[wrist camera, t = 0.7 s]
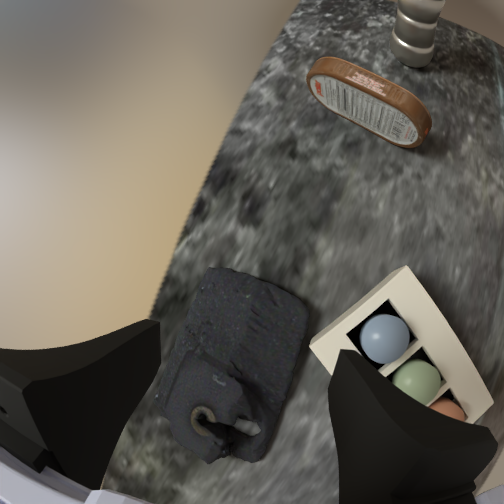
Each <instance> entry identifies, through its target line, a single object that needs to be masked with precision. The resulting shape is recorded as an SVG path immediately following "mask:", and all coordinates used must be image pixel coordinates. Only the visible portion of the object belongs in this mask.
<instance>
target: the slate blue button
mask: <svg viewBox="0 0 504 504" xmlns="http://www.w3.org/2000/svg"><path fill="white" fill-rule="evenodd" d="M359 340H360V344H361V347H362V348H363V350H364V351H365V353H366V354H367V355H368V357H369V358H370V359H371V360H373V361H375V362H377V363H382V364H387V363H391V362H394V361H396V360H397V359H399V358H400V357H401V356H402V355H403V354H404V353H405V351H406V349H407V347H408V344H409V331H408V328H407V326H406V324H405V323H404V322H403V321H402V320H401V319H400V318H398V317H395V316H392V315H388V314H376V315H374V316H372V317H370V318H369V319H367V320H366V321H365V323H364V324H363V326H362V328H361V330H360V335H359Z"/></svg>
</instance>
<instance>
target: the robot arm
mask: <svg viewBox="0 0 504 504" xmlns="http://www.w3.org/2000/svg"><path fill="white" fill-rule="evenodd" d="M160 364H161V347H160V322H158V321H153V320H149V319H145V320H142V321H139V322H136V323H134V324H131V325H129V326H126V327H124V328H121V329H119V330H116V331H114V332H111V333H109V334H107V335H103V336H100V337H98V338H95V339H92V340H89V341H85V342H82V343H78V344H73V345H69V346H64V347H57V348H49V349H39V350H13V349H2V348H0V504H153V503H150V502H147V501H144V500H141V499H138V498H135V497H132V496H130V495H126V494H123V493H119V492H116V491H112V490H109V489H106V490H100V487H101V484H102V481H103V478H104V475H105V472H106V469H107V466H108V464H109V461H110V458H111V456H112V454H113V451H114V449H115V446H116V444H117V442H118V439H119V437H120V435H121V433H122V431H123V429H124V427H125V425H126V423H127V421H128V419H129V418H130V416H131V415H132V413H133V411H134V410H135V408H136V407H137V405H138V404H139V402H140V401H141V399H142V398H143V396H144V395H145V393H146V391H147V390H148V388H149V387H150V385H151V384H152V382H153V380H154V378H155V376H156V374H157V371H158V369H159V367H160ZM328 402H329V412H330V417H331V422H332V427H333V432H334V437H335V443H336V448H337V454H338V463H339V504H504V485H499V486H497V487H495V488H493V489H490V490H488V491H486V492H483V493H481V494H480V495H478V496H477V497H475V498H474V496H473V494H472V492H473V491H474V490H475V489H476V485H475V483H474V480H475V478H476V477H477V476H478V475H479V474H480V473H481V472H482V471H483V470H484V468H485V467H486V466H487V465H488V464H489V462H490V461H491V460H492V458H493V457H494V455H495V453H496V451H497V447H498V443H497V441H496V440H495V438H494V436H493V435H492V433H491V432H490V430H489V428H488V427H484V426H479V425H475V424H471V423H467V422H463V421H460V420H458V419H455V418H452V417H449V416H447V415H444V414H442V413H440V412H438V411H436V410H434V409H431V408H429V407H427V406H426V405H424V404H422V403H420V402H419V401H417V400H415V399H414V398H412V397H411V396H409V395H408V394H406V393H405V392H403V391H402V390H401V389H399V388H398V387H397V386H396V385H394V384H393V383H392V382H390V381H389V380H388V379H387V378H386V377H385V376H383V375H382V374H381V373H380V372H379V371H378V370H377V369H376V368H375V367H373V366H372V365H371V364H370V363H369V362H368V361H367V360H366V359H365V358H364V357H363V356H362V355H360V354H359V353H358V352H357V351H355V350H348V349H340V352H339V355H338V359H337V362H336V365H335V368H334V371H333V375H332V378H331V381H330V384H329V387H328Z"/></svg>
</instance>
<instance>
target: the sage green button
mask: <svg viewBox="0 0 504 504" xmlns="http://www.w3.org/2000/svg"><path fill="white" fill-rule="evenodd" d="M392 383H393V384H394V385H396V386H397V387H398V388H399V389H401V390H402V391H403V392H405V393H406V394H408V395H409V396H411V397H412V398H414V399H415V400H417V401H419V402H420V403H422V404H424V405H427V404H428V403H429V402H431V401H432V400H433V399H434V398H435V396H436V395H437V393H438V391H439V388H440V384H441V379H440V374H439V372H438V371H437V369H436V368H435V367H433V366H431V365H430V364H428V363H427V362H425V361H424V360H422V359H419V358H412V359H408V360H406V361H405V362H403V363H402V364H401V365H400V366H399V367H397V369H396V370H395V372H394V374H393V377H392Z"/></svg>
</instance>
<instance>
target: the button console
mask: <svg viewBox="0 0 504 504" xmlns="http://www.w3.org/2000/svg"><path fill="white" fill-rule="evenodd" d="M386 300H388V301H389V302H390V304H391V305H392V306H393V308H394V309H395V310H396V312H397V313H398V315H399V316H400V317H401V319H402V320H403V321H404V323H405V324H406V326H407V327H408V328H409V330H410V331H411V333H412V334H413V335H414V337H415V339H414V340H413V341H412V342H411V343H410V344H409V345H408V347H407V349H406V351H405V353H404V354H403V355H402V356H401V357H400V358H399V359H397V360H396V361H394V362H391V363H387V364H385V365H384V366H382V367H381V368H380V369H379V370H378V371H379V372H380V373H381V374H382V375H383V376H385V377H386V376H387V375H389V374H390V373H391V372H392V371H394V370H395V369H396V368H397V367H399V366H400V365H401V364H402V363H403V362H405V361H406V360H407V359H408V358H409V357H410V356H412V355H413V354H414V353H415V352H416V351H417V350H418V349H419V348H421V347H422V348H423V350H424V351H425V353H426V354H427V356H428V357H429V359H430V360H431V362H432V363H433V365H434V366H435V368H436V369H437V371H438V372H439V374H440V375H441V377H442V378H443V380H442V381H441V384H440V388H439V391H438V393H437V395H436V396H435V398H434V399H433V400H432V401H431V402H429V403H428V404H427V405H426V406H427V407H428V406H429V405H430V404H432V403H433V402H434V401H435V400H436V399H437V398H439V397H440V396H441V395H442V394H443V393H444V392H445V391H446V390H448V389H450V391H451V392H452V394H453V396H454V397H455V398H454V399H453V400H452V402H454V403H455V404H456V405H457V406H458V407H460V408H461V409H462V411H463V412H464V422H467V423H471V424H473V423H474V422H475V421H476V420H477V419H478V418H479V417H480V416H481V415H482V414H483V413H484V412H485V411H486V410H487V409H488V408H489V407H490V406H491V405H492V404H493V403H494V401H493V399H492V397H491V395H490V393H489V391H488V390H487V388H486V386H485V384H484V382H483V380H482V378H481V377H480V375H479V373H478V371H477V370H476V368H475V366H474V364H473V363H472V361H471V359H470V357H469V356H468V354H467V352H466V351H465V349H464V348H463V346H462V344H461V343H460V341H459V339H458V338H457V336H456V335H455V333H454V332H453V330H452V328H451V327H450V325H449V324H448V322H447V321H446V319H445V318H444V316H443V315H442V313H441V312H440V310H439V309H438V308H437V306H436V305H435V303H434V302H433V300H432V299H431V297H430V296H429V295H428V293H427V292H426V290H425V289H424V288H423V286H422V285H421V284H420V282H419V281H418V280H417V278H416V277H415V276H414V274H413V273H412V272H411V270H410V269H409V268H408V266H407V265H406V266H404V267H401V268H399V269H397V270H394V271H393V272H391V273H390V274H389V275H388V276H387V277H386V278H385V279H384V280H382V281H381V282H380V283H379V284H378V285H377V286H376V287H374V288H373V289H372V290H371V291H370V292H369V293H367V294H366V295H365V296H364V297H363V298H362V299H360V300H359V301H358V302H357V303H356V304H354V305H353V306H352V307H351V308H350V309H348V310H347V311H346V312H345V313H343V314H342V315H341V316H340V317H338V318H337V319H336V320H335V321H333V322H332V323H331V324H330V325H328V326H327V327H326V328H324V329H323V330H322V331H320V332H319V333H318V334H317V335H315V336H314V337H313V338H312V339H311V342H310V345H309V347H310V348H311V350H312V351H313V352H314V353H315V355H316V356H317V357H318V359H319V360H320V361H321V363H322V364H323V365H324V366H325V368H326V369H327V370H328V372H329V373H330V374H331V375H333V371H334V368H335V365H336V362H337V359H338V355H339V352H340V349H348V350H355V351H357V352H358V353H359V354H360V355H361V353H360V352H359V351H358V349H357V348H356V347H355V346H354V344H353V343H352V342H351V340H350V339H349V338H348V336H347V335H346V333H348V332H349V331H350V330H352V329H353V328H354V327H355V326H356V325H358V324H359V323H360V322H361V321H363V320H364V319H365V318H366V317H367V316H369V315H370V314H371V313H372V312H373V311H375V310H376V309H377V308H378V307H379V306H380V305H382V304H383V303H384V302H385V301H386Z"/></svg>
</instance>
